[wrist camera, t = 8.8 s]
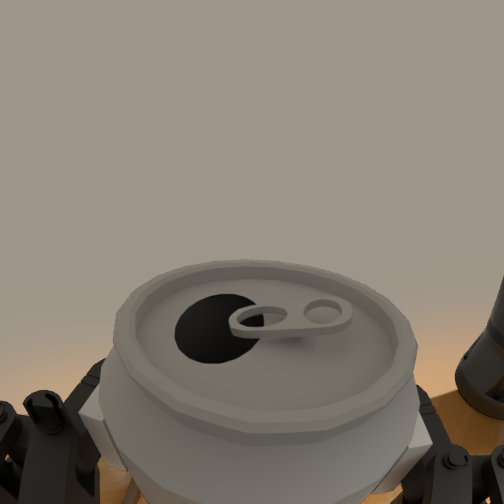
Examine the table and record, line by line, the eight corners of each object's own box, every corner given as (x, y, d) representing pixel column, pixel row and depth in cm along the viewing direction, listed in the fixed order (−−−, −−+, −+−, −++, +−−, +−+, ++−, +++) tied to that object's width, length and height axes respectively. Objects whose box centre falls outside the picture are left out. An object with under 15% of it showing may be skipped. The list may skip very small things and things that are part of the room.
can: (187, 447, 13) (167, 237, 10) (320, 463, 13) (388, 259, 9) (147, 554, 6) (-8, 366, 3) (319, 578, 5) (520, 431, 2)
